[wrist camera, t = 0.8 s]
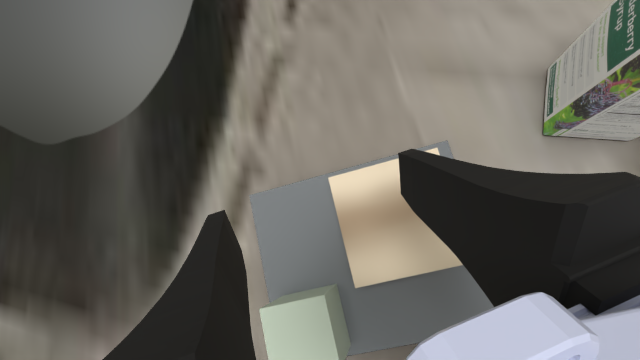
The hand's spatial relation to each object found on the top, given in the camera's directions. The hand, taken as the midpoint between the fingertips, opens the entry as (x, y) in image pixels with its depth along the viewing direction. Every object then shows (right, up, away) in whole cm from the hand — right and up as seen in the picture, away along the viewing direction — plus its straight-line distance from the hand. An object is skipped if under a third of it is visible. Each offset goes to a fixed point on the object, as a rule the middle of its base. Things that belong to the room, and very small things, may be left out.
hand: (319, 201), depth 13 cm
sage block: (0, -10, +13) cm, 16 cm away
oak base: (+6, -2, +13) cm, 14 cm away
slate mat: (+4, -5, +13) cm, 15 cm away
